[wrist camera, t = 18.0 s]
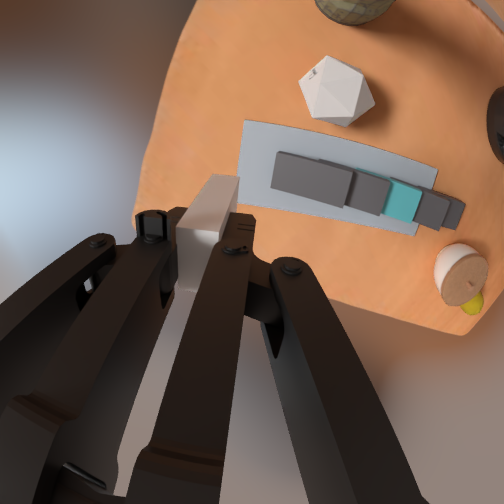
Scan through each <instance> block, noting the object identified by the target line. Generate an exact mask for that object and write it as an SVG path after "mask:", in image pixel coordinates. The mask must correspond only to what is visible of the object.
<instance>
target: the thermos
mask: <svg viewBox="0 0 504 504" xmlns="http://www.w3.org/2000/svg"><path fill="white" fill-rule="evenodd" d="M394 1H395V0H315V3H316V5H317V7H318V8H319V10H320V11H321V12H322V13H323V14H324V15H325V16H327V17H328V18H329V19H331V20H333V21H335V22H337V23H339V24H343V25H347V26H358V25H361V24H365V23H367V22H368V21H371V20H373V19H375V18H377V17H378V16H380V15H381V14H383V13H384V12H385V11H387V10H388V8H389V7H390V6H391V4H392V3H393V2H394Z"/></svg>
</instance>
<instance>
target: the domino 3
mask: <svg viewBox="0 0 504 504" xmlns="http://www.w3.org/2000/svg"><path fill="white" fill-rule="evenodd" d="M390 178H391V179H394V180H396V181H399V182H402V183H405V184H407V185H410V186H413V187H415V188H418V189H420V190H421V191H422V195H421V198H420V201H419V203H418V206H417V209H416V212H415V215H414V217H413V220H412V221H413V222H416V223H419V224H421V225H424V226H426V227H429V228H432V229H434V230H437V231H439V229H440V227H441V225H442V222H443V220H444V217H445V214H446V212H447V209H448V206H449V204H450V201H449V200H448V199H447V198H445V197H442V196H440V195H438V194H435V193H433V192H430V191H428V190H425V189H423V188H420V187H418V186H415V185H412V184H410V183H407V182H404V181H402V180H399V179H396V178H393V177H391V176H390Z"/></svg>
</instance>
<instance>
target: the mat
mask: <svg viewBox="0 0 504 504" xmlns="http://www.w3.org/2000/svg"><path fill="white" fill-rule="evenodd" d="M278 151H283V152H287V153H291V154H295V155H299V156H303V157H307V158H311V159H315V160H319V159H323V160H327V161H330V162H334V163H337V164H341V165H344V166H347V167H351V168H354V169H356V167H357V168H361V169H364V170H367V171H370V172H373V173H376V174H379V175H382V176H385V177H388V178H390V176H391V177H393V178H396V179H399V180H402V181H404V182H407V183H410V184H412V185H415V186H418V185H419V186H422V187H425V188H428V189H431V190H432V187H433V184H434V181H435V178H436V174H437V171H438V169H436V168H433V167H431V166H428V165H425V164H423V163H420V162H417V161H415V160H412V159H409V158H406V157H403V156H400V155H397V154H394V153H391V152H388V151H385V150H382V149H379V148H375V147H372V146H368V145H365V144H361V143H358V142H354V141H350V140H347V139H343V138H339V137H335V136H331V135H326V134H322V133H318V132H313V131H308V130H304V129H299V128H293V127H288V126H283V125H277V124H271V123H265V122H258V121H251V120H244V126H243V133H242V140H241V147H240V155H239V162H238V169H237V176H238V177H240V181H239V191H238V200H237V203H240V204H247V205H254V206H260V207H266V208H273V209H279V210H285V211H291V212H297V213H302V214H308V215H314V216H319V217H324V218H330V219H335V220H340V221H345V222H351V223H356V224H360V225H365V226H370V227H375V228H380V229H384V230H389V231H393V232H398V233H402V234H407V235H411V236H415V233H416V231H417V228H418V226H419V223H416V222H413V221H412V223H411V224H409V223H407V222H404V221H401V220H398V219H395V218H393V217H390V216H387V215H384V214H381V213H380V216H376V215H373V214H370V213H367V212H364V211H361V210H358V209H354V208H351V207H348V206H345V205H344V206H343V209H342V208H339V207H336V206H332V205H329V204H326V203H322V202H319V201H315V200H312V199H308V198H305V197H301V196H298V195H294V194H291V193H287V192H283V191H279V190H276V189H272V188H270V186H271V181H272V175H273V170H274V164H275V158H276V153H277V152H278Z"/></svg>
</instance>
